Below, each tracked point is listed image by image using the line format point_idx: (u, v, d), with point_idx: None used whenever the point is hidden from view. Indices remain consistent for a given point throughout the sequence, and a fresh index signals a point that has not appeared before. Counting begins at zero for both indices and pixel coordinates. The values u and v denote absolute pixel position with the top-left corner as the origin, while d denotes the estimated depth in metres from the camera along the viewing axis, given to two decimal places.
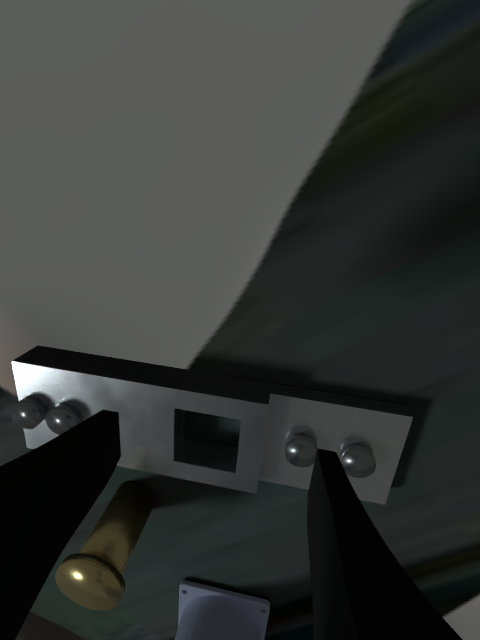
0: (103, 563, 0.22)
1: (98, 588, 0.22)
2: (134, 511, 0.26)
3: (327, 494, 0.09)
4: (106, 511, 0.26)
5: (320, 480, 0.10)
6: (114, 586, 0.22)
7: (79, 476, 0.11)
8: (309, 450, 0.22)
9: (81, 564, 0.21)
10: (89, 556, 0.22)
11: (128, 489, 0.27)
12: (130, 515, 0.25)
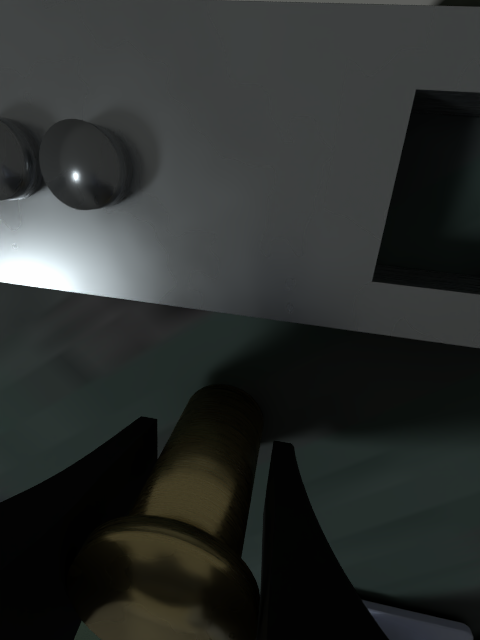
0: (209, 543, 0.07)
1: (190, 616, 0.08)
2: (240, 435, 0.12)
3: (273, 483, 0.10)
4: (178, 434, 0.11)
5: (271, 471, 0.10)
6: (242, 611, 0.07)
7: (123, 485, 0.10)
8: None
9: (147, 545, 0.07)
10: (167, 523, 0.07)
11: (215, 396, 0.13)
12: (235, 441, 0.11)
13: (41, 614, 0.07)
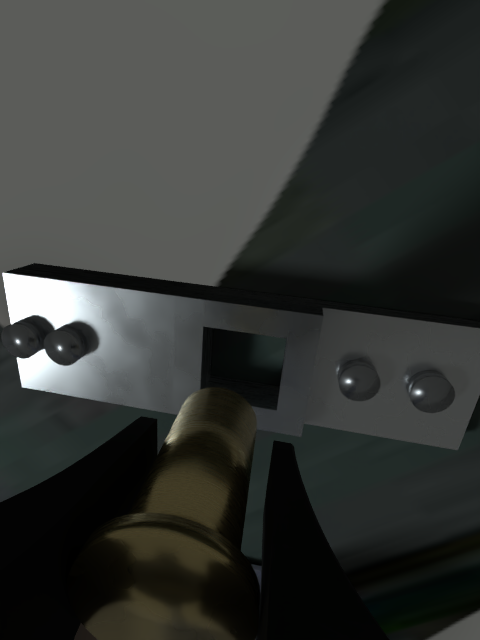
0: (213, 539, 0.07)
1: (192, 613, 0.08)
2: (237, 436, 0.12)
3: (273, 483, 0.10)
4: (174, 435, 0.12)
5: (271, 470, 0.10)
6: (244, 606, 0.07)
7: (123, 485, 0.10)
8: (371, 378, 0.17)
9: (152, 541, 0.07)
10: (171, 520, 0.08)
11: (211, 399, 0.13)
12: (231, 441, 0.11)
13: (41, 614, 0.07)
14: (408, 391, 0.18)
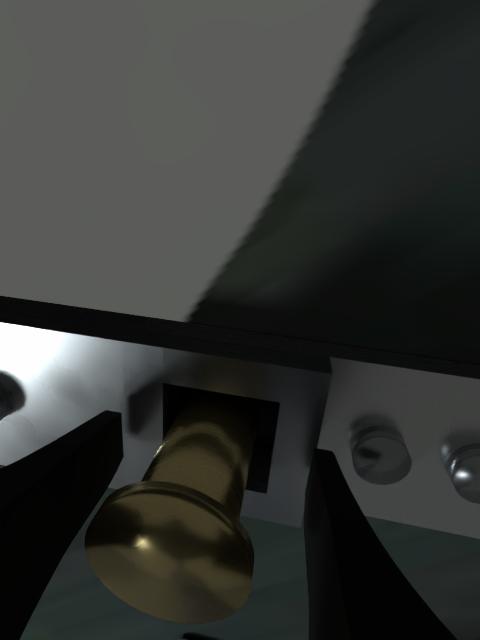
0: (211, 505, 0.08)
1: (193, 570, 0.09)
2: (239, 419, 0.13)
3: (323, 493, 0.09)
4: (182, 417, 0.12)
5: (316, 479, 0.10)
6: (238, 565, 0.08)
7: (82, 477, 0.11)
8: (398, 456, 0.12)
9: (158, 504, 0.08)
10: (175, 488, 0.09)
11: None
12: (234, 424, 0.12)
13: None
14: (449, 472, 0.13)
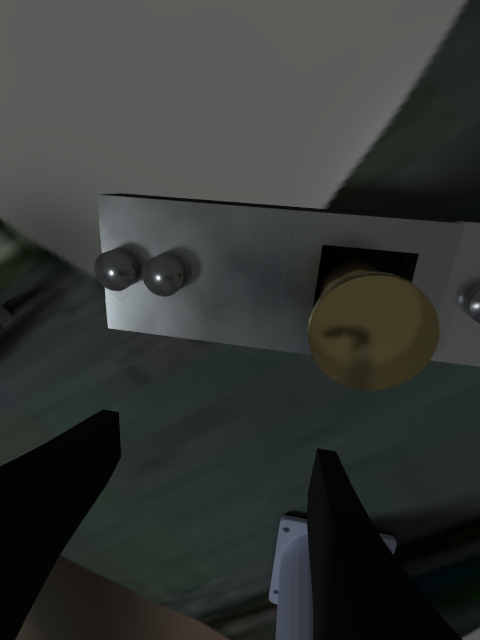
0: (412, 283, 0.12)
1: (394, 335, 0.12)
2: None
3: (327, 494, 0.09)
4: (338, 271, 0.16)
5: (320, 480, 0.10)
6: (431, 325, 0.12)
7: (79, 476, 0.11)
8: None
9: (379, 278, 0.12)
10: (384, 273, 0.12)
11: (352, 258, 0.18)
12: None
13: None
14: None
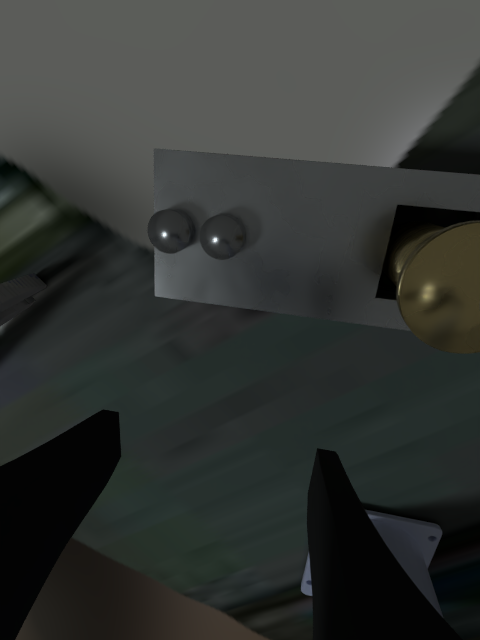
0: None
1: None
2: None
3: (327, 494, 0.09)
4: (413, 233, 0.15)
5: (320, 480, 0.10)
6: None
7: (79, 476, 0.11)
8: None
9: None
10: None
11: (421, 223, 0.17)
12: None
13: None
14: None
